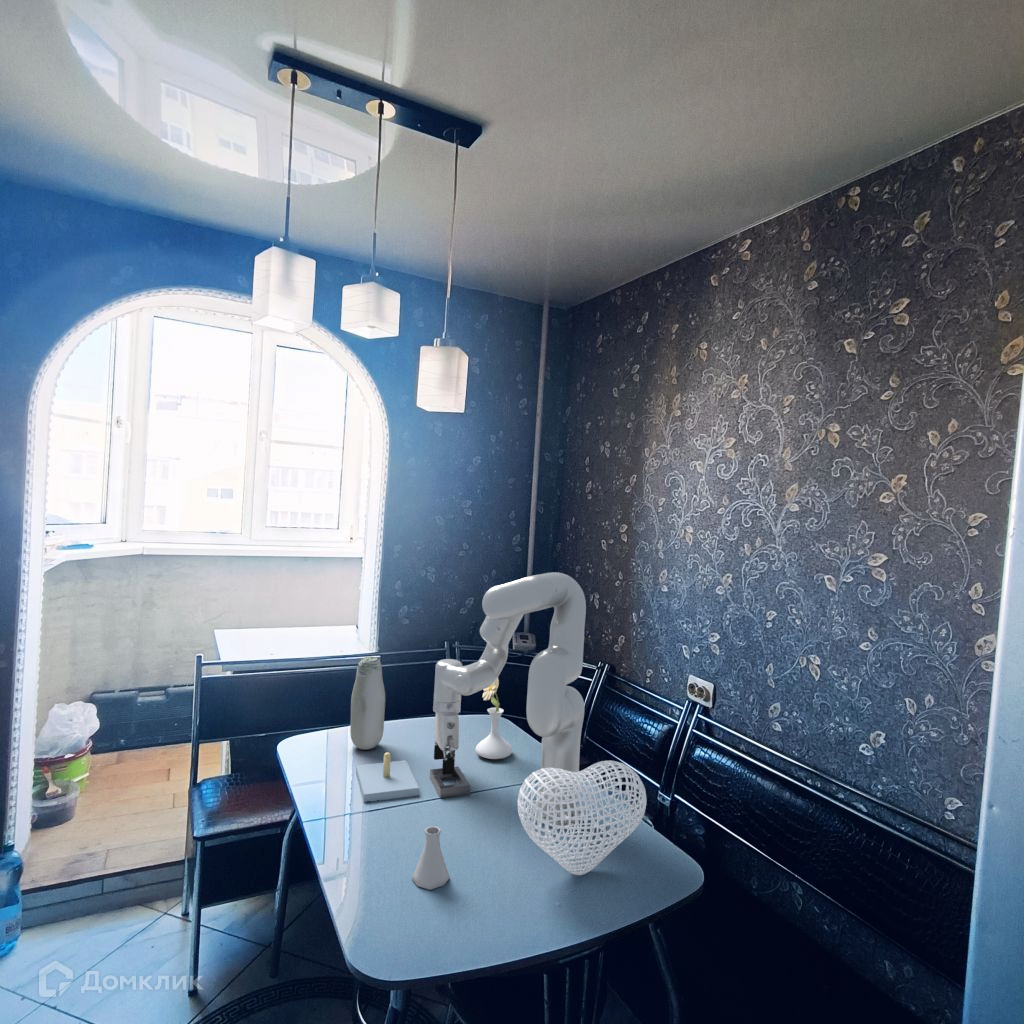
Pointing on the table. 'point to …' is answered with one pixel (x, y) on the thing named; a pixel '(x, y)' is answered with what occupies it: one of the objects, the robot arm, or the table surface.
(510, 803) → the table surface
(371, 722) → the tall cream vase
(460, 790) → the steel link
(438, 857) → the flask
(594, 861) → the heart
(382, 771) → the board
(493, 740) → the flower in vase
